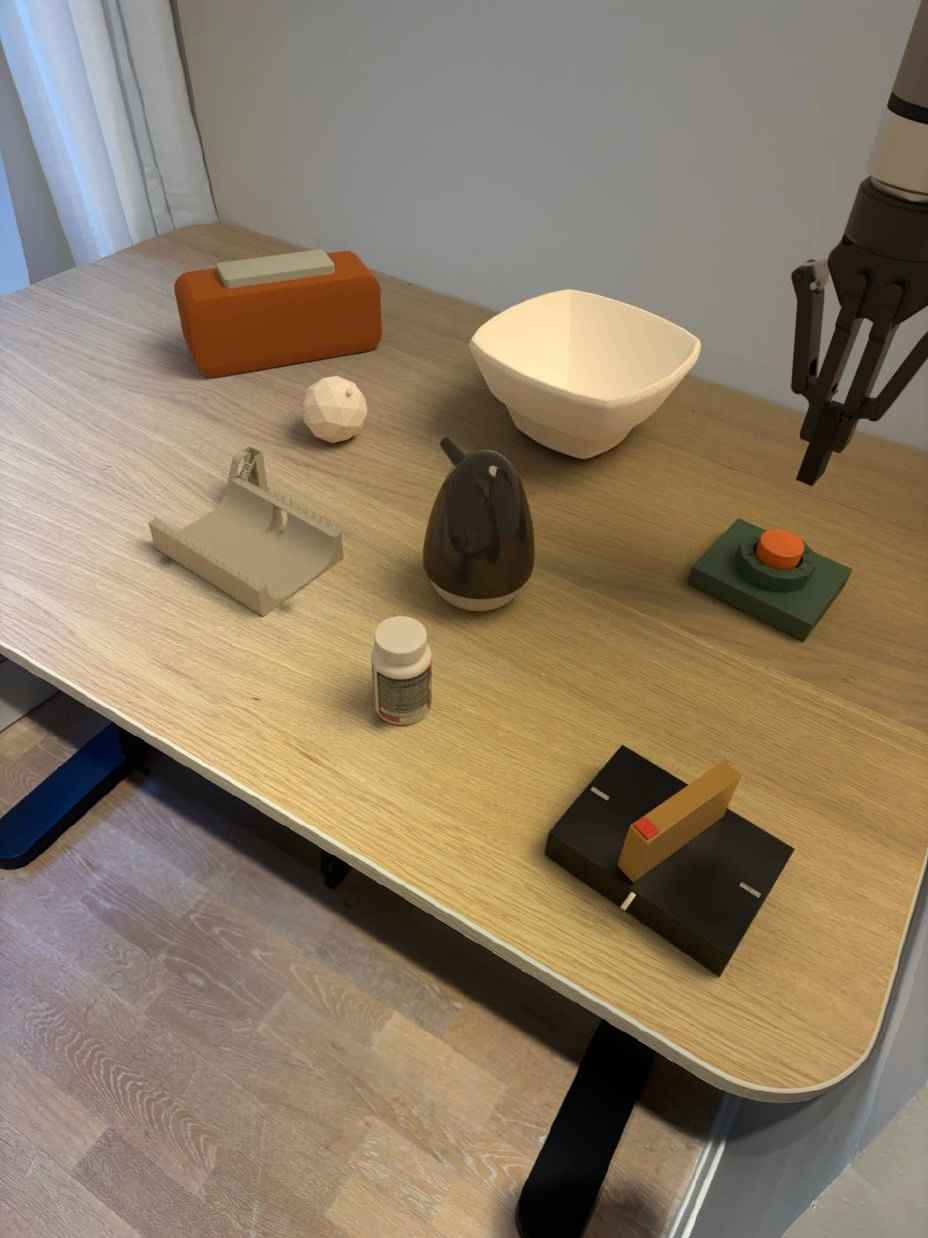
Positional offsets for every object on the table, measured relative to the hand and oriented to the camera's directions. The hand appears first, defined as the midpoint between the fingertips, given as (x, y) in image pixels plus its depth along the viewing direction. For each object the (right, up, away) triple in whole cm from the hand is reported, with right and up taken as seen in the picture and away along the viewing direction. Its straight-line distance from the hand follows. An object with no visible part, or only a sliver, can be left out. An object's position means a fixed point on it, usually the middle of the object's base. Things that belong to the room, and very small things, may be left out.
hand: (810, 476), depth 75 cm
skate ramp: (-50, -5, +11) cm, 51 cm away
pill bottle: (-35, -19, -3) cm, 40 cm away
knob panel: (-15, -30, -12) cm, 36 cm away
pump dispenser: (-29, -10, +8) cm, 31 cm away
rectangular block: (-15, -28, -14) cm, 35 cm away
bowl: (-17, +10, +28) cm, 34 cm away
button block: (0, -9, +10) cm, 13 cm away
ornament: (-44, +9, +25) cm, 52 cm away
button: (0, -6, +7) cm, 10 cm away
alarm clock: (-53, +23, +39) cm, 70 cm away
